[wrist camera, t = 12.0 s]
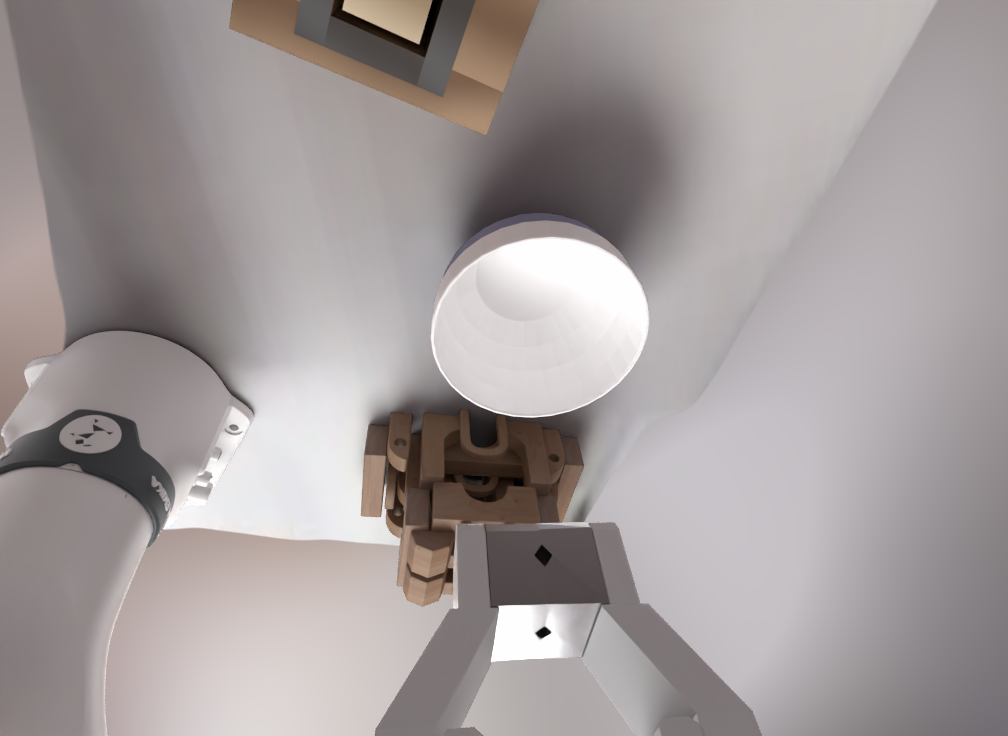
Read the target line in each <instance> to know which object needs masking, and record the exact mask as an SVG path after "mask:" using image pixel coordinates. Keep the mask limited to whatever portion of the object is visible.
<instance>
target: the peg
mask: <svg viewBox="0 0 1008 736" xmlns="http://www.w3.org/2000/svg"><path fill="white" fill-rule="evenodd" d="M431 3H432V0H344V4H343V8H342V10H344V11H346V12H348V13H351V14H353V15H355V16H357V17H359V18H362V19H364V20H366V21H368V22H370V23H373V24H375V25H377V26H379V27H381V28H384V29H386V30H388V31H390V32H393V33H395V34H397V35H399V36H401V37H404V38H406V39H408V40H410V41H412V42H415V43H417V44H419V43H420V40H421V36H422V33H423V30H424V27H425V23H426V20H427V17H428V13H429V10H430V7H431Z"/></svg>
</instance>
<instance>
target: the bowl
mask: <svg viewBox="0 0 1008 736" xmlns="http://www.w3.org/2000/svg"><path fill="white" fill-rule="evenodd" d="M648 325H649V309H648V300H647V298H646V295H645V292H644V289H643V287H642V284H641V282H640V281H639V279H638V278H637V276H636V275H635V273H634V272H633V270H632V269H631V267H630V266H629V264H628V263H627V261H626V260H625V259H624V257H623V256H622V254H621V253H620V251H618V250H617V249H616V248H615V247H614V246H613V245H612V244H611V243H610V242H608V241H607V240H606V239H605V238H603V237H602V236H601V235H600V234H599V233H597V232H596V231H595V230H594V229H592V228H591V227H589V226H587V225H585V224H583V223H582V222H580V221H578V220H575V219H572V218H569V217H565V216H562V215H557V214H548V213H531V214H520V215H516V216H513V217H509V218H505V219H502V220H500V221H497V222H495V223H493V224H491V225H489V226H487V227H485V228H483V229H482V230H480V231H479V232H478V233H476V234H475V235H474V236H472V237H471V238H470V239H468V240H467V241H466V242H465V244H464V245H463V246H462V247H461V248H460V249H459V250H458V251H457V252H456V254H455V255H454V257H453V259H452V260H451V262H450V264H449V265H448V267H447V269H446V271H445V274H444V276H443V279H442V280H441V282H440V285H439V288H438V291H437V294H436V297H435V301H434V308H433V315H432V324H431V336H430V337H431V344H432V350H433V355H434V357H435V360H436V362H437V365H438V367H439V370H440V371H441V373H442V374H443V375H444V377H445V378H446V380H447V381H448V382H449V384H450V385H451V386H452V387H453V388H454V389H455V390H456V391H457V392H458V393H460V394H461V395H462V396H463V397H464V398H466V399H468V400H469V401H471V402H472V403H474V404H476V405H477V406H479V407H482V408H485V409H487V410H490V411H492V412H495V413H499V414H504V415H509V416H514V417H532V418H533V417H544V416H553V415H557V414H561V413H565V412H569V411H572V410H575V409H577V408H580V407H582V406H585V405H587V404H589V403H591V402H593V401H595V400H596V399H598V398H600V397H602V396H603V395H605V394H606V393H607V392H609V391H610V390H611V389H612V388H614V387H615V386H616V385H617V384H619V383H620V382H621V380H622V379H623V378H624V377H625V376H626V375H627V374H628V373H629V371H630V370H631V369H632V368H633V366H634V364H635V363H636V361H637V359H638V358H639V356H640V354H641V352H642V349H643V347H644V344H645V341H646V338H647V333H648Z"/></svg>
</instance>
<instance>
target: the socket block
mask: <svg viewBox="0 0 1008 736" xmlns="http://www.w3.org/2000/svg"><path fill="white" fill-rule="evenodd" d="M538 2H539V0H438V1H437V5H436V8H435V11H434V15H433V18H432V21H431V24H430V28H429V30H428V29H426V28H424V30H423V33H422V36H421V40H420V43H419V44H417V43H415V42H412V41H410V40H408V39H406V38H404V37H401V36H399V35H397V34H395V33H393V32H390V31H388V30H386V29H384V28H381V27H379V26H377V25H375V24H373V23H370V22H368V21H366V20H364V19H362V18H359V17H357V16H355V15H353V14H351V13H348V12H346V11H344V10H342V8H343V4H344V0H233V3H232V10H231V18H230V26H229V28H230V29H232V30H235V31H237V32H239V33H242V34H244V35H246V36H249V37H251V38H254V39H256V40H258V41H261V42H263V43H266V44H268V45H270V46H273V47H275V48H278V49H280V50H282V51H285V52H287V53H290V54H292V55H294V56H297V57H299V58H301V59H304V60H306V61H309V62H311V63H313V64H316V65H318V66H321V67H323V68H325V69H328V70H330V71H333V72H335V73H337V74H340V75H342V76H345V77H347V78H349V79H352V80H354V81H357V82H359V83H361V84H364V85H366V86H368V87H371V88H373V89H376V90H378V91H380V92H383V93H385V94H388V95H390V96H392V97H395V98H397V99H400V100H402V101H404V102H407V103H409V104H412V105H414V106H416V107H419V108H421V109H424V110H426V111H428V112H431V113H433V114H435V115H438V116H440V117H443V118H445V119H447V120H450V121H452V122H455V123H457V124H459V125H462V126H464V127H467V128H469V129H471V130H474V131H476V132H479V133H481V134H483V135H486V134H487V132H488V129H489V126H490V124H491V121H492V119H493V116H494V114H495V111H496V109H497V106H498V104H499V101H500V99H501V96H502V94H503V91H504V88H505V86H506V83H507V81H508V78H509V76H510V73H511V71H512V68H513V66H514V63H515V61H516V58H517V56H518V53H519V50H520V48H521V45H522V43H523V40H524V38H525V35H526V33H527V30H528V28H529V25H530V23H531V20H532V18H533V15H534V12H535V10H536V7H537V5H538Z"/></svg>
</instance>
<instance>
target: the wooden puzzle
mask: <svg viewBox="0 0 1008 736" xmlns="http://www.w3.org/2000/svg"><path fill="white" fill-rule="evenodd" d="M411 424H412V414H405V413H391V417H390V426H382V425H369V426H368V432H367V439H366V446H365V453H364V469H363V487H362V505H361V516H366V517H381V512H382V502H383V492H384V482H385V469H386V458H387V457H388V460H389V467H388V477H387V487H386V498H385V509H387V510H386V524H387V527H388V529H389V531H390V532H391V533H392V534H393V535H395V536H397V537H399V538H401V541H400V550H399V562H398V577H397V586H403V591H404V593H405V596H406V599H407V600H408V601H410V602H413V603H415V604H417V605H420V606H425V605H428V604H431V603H434V602H436V601H439V598H440V596H441V594H453V565H454V548H455V534H456V525H457V524H536V523H562V521H563V519H564V516H565V513H566V511H567V508H568V506H569V503H570V501H571V498H572V495H573V493H574V490H575V488H576V485H577V483H578V480H579V477H580V475H581V472H582V470H583V467H584V464H583V460H582V456H581V452H580V448H579V444H578V440H577V438H576V437H563V436H560V433H559V430H553V429H542V427H541V423H532V422H520V421H507V420H506V417H505V415H504V414H499V413H497V414H496V429H497V441H496V442H495V443H494V444H493V445H491V446H488V447H480V448H479V447H476V446H474V445H473V444H472V443H471V438H470V423H469V411H468V410H460V413H459V416H455V415H443V414H430V413H424V415H423V423H422V435H415V434H411ZM397 470H399V471H398V481H396V479H397ZM463 475H474V476H482V480H483V485H471V484H469V483H467V482H466V481H465V480H464V479H463ZM513 478H514V479H513Z"/></svg>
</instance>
